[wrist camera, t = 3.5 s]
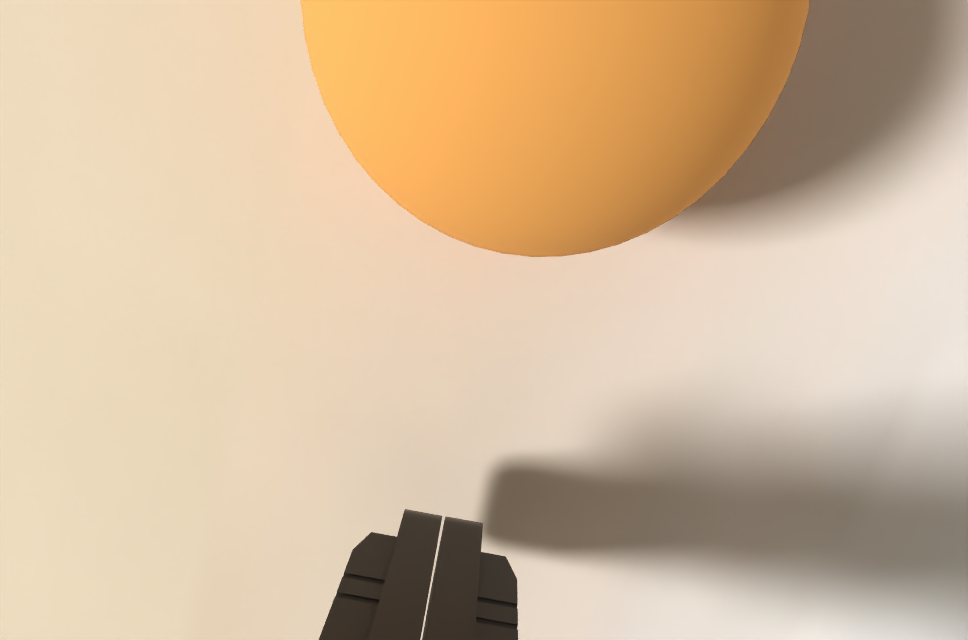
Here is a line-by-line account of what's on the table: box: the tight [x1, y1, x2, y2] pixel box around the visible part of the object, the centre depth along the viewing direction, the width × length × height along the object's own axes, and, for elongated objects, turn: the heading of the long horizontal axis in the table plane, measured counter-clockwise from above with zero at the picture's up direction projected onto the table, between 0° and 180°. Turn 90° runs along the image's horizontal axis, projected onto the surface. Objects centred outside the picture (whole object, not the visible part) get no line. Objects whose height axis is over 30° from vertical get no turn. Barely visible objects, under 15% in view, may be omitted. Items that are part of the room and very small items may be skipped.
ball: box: [301, 0, 810, 257], centre depth 7 cm, size 6×6×6 cm
